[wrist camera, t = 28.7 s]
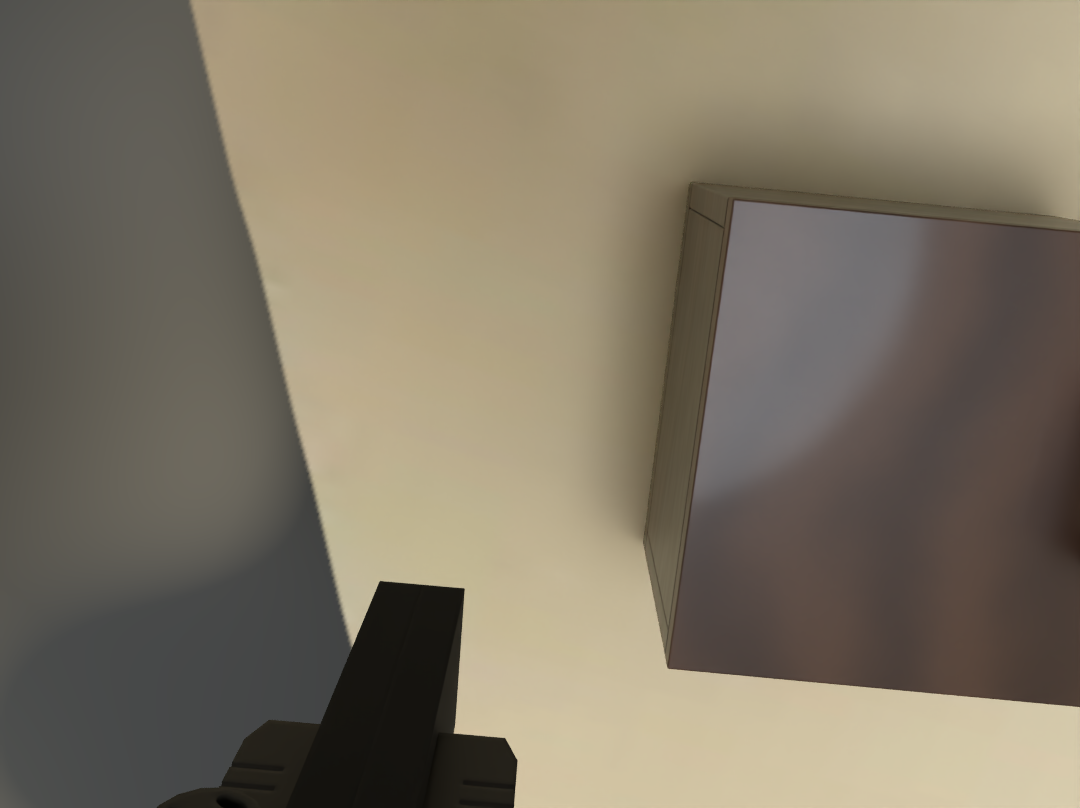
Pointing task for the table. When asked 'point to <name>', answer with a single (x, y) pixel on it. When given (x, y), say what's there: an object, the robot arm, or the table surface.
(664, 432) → the chest
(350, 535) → the table surface
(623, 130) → the table surface
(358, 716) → the robot arm
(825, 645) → the chest lid
